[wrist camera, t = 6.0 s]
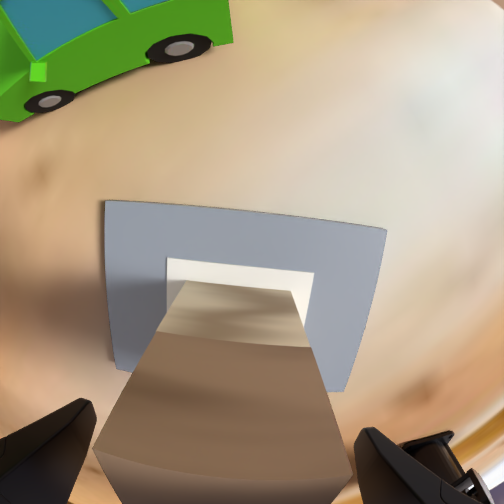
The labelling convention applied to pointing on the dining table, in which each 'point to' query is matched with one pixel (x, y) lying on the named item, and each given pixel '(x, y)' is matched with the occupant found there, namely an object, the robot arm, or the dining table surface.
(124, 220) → the board
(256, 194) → the dining table surface
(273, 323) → the beech block
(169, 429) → the walnut block
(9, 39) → the toy car
